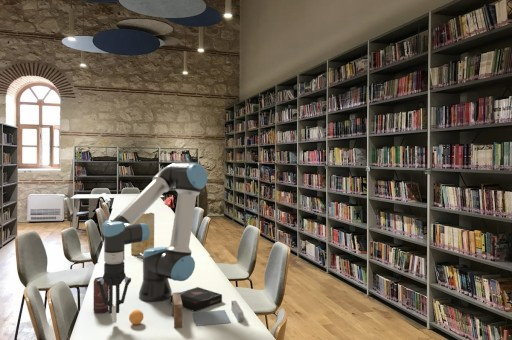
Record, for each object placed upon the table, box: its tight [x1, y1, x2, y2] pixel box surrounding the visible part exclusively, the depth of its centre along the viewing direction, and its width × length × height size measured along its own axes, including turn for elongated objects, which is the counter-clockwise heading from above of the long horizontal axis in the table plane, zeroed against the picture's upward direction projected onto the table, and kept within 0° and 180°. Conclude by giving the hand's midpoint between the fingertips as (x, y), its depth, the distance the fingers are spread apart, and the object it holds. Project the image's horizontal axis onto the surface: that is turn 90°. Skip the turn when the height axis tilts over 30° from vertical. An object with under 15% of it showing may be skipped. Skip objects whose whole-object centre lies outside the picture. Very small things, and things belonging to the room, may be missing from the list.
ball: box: [128, 309, 144, 325], centre depth 165 cm, size 6×6×6 cm
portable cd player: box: [169, 286, 223, 312], centre depth 191 cm, size 16×17×4 cm
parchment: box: [130, 212, 155, 256], centre depth 273 cm, size 23×6×30 cm, turn 43°
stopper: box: [231, 300, 244, 323], centre depth 175 cm, size 14×2×4 cm, turn 15°
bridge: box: [171, 292, 183, 329], centre depth 169 cm, size 3×14×9 cm, turn 15°
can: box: [93, 276, 109, 314], centre depth 178 cm, size 6×6×14 cm
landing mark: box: [192, 309, 231, 327], centre depth 173 cm, size 14×14×1 cm
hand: (114, 321), depth 163 cm, fingers closed
